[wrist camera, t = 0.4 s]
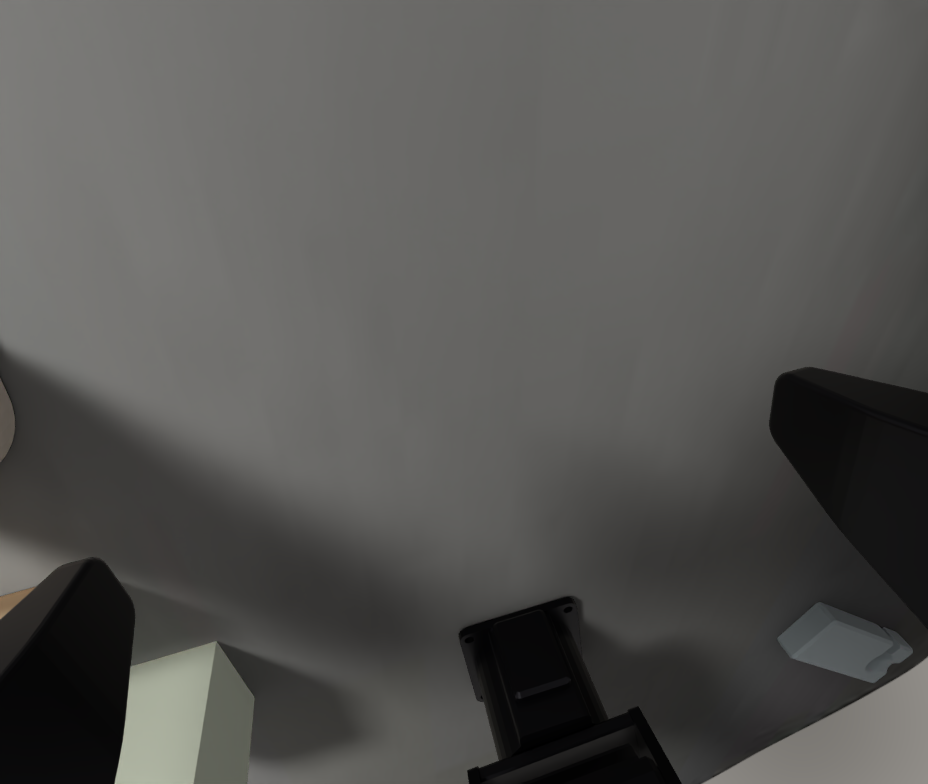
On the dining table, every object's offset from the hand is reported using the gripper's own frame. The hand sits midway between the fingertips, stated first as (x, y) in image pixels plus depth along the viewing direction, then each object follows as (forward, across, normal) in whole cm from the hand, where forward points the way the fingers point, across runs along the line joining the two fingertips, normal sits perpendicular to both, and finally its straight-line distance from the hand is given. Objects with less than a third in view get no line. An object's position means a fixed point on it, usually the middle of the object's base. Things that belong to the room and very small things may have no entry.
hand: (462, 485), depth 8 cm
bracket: (+15, -24, +35) cm, 45 cm away
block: (+14, +15, +20) cm, 29 cm away
